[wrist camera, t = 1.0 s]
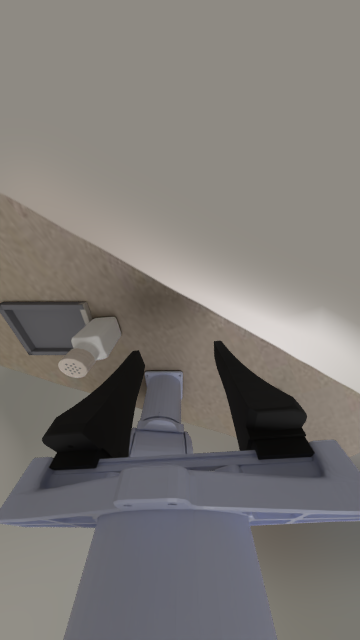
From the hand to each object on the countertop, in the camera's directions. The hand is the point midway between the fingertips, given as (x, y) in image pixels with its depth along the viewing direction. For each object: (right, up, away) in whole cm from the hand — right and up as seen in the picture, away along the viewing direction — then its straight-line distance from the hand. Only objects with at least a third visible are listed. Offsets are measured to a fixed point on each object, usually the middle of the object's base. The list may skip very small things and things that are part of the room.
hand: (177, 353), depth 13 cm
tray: (-21, +2, +11) cm, 24 cm away
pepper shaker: (-12, +2, +11) cm, 17 cm away
